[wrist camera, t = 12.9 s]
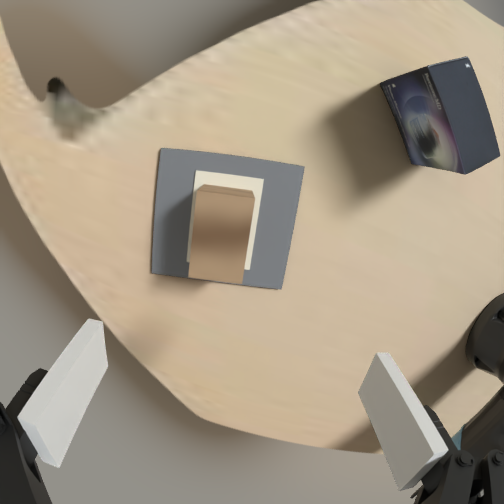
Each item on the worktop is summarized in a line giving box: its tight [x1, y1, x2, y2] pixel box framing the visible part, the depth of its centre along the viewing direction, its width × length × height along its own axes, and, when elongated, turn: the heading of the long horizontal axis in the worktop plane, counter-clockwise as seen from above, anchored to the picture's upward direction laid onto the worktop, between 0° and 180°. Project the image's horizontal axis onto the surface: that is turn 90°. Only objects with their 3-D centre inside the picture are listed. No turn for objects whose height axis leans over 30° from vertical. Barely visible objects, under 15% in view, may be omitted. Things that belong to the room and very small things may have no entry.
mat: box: [152, 148, 304, 289], centre depth 32 cm, size 15×14×1 cm
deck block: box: [188, 184, 255, 284], centre depth 29 cm, size 8×5×6 cm, turn 171°
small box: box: [380, 57, 500, 174], centre depth 24 cm, size 11×6×10 cm, turn 26°
